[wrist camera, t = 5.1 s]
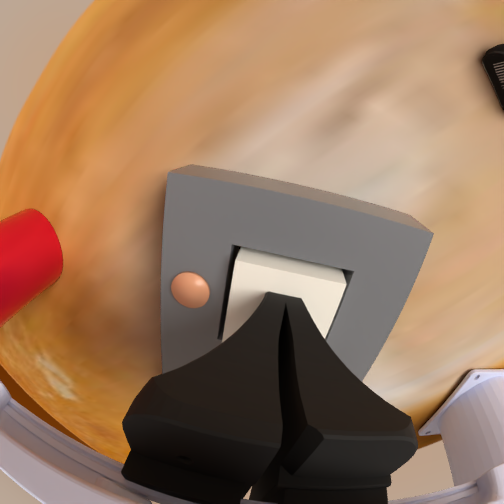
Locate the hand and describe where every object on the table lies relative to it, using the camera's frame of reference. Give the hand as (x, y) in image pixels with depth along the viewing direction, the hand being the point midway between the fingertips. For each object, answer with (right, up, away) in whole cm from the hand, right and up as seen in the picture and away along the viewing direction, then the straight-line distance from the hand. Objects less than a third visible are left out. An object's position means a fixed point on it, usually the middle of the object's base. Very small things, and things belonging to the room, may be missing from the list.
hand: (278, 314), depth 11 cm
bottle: (-16, +3, +5) cm, 16 cm away
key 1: (+1, +1, +3) cm, 4 cm away
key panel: (-1, -5, +5) cm, 8 cm away
